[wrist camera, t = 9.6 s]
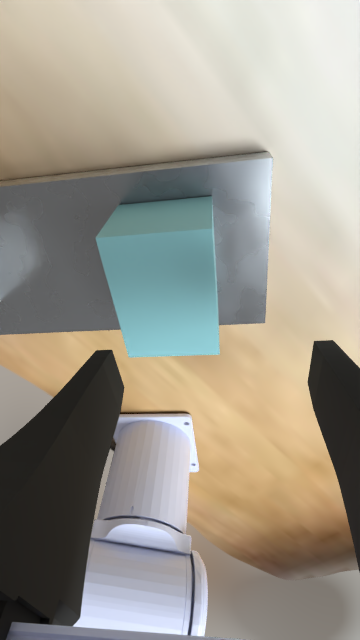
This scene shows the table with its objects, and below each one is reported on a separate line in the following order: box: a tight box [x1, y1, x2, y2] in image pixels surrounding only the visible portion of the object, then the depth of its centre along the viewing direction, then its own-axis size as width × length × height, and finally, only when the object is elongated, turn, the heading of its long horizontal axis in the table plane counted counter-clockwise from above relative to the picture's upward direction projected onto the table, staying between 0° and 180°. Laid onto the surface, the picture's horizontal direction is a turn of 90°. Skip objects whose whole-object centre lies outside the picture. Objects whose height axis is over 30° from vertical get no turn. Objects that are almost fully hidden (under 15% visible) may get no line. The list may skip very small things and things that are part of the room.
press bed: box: [0, 152, 273, 335], centre depth 20 cm, size 10×26×4 cm, turn 97°
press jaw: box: [96, 196, 220, 357], centre depth 18 cm, size 7×5×4 cm
